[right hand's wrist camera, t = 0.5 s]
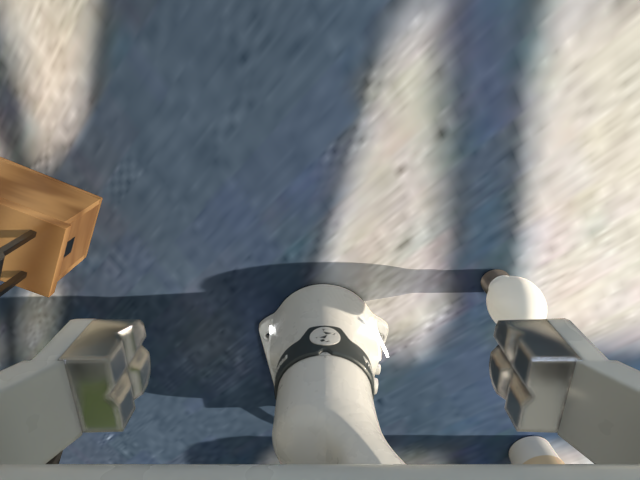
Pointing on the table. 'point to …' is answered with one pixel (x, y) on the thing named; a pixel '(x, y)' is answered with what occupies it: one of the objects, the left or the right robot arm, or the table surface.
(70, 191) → the chest
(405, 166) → the table surface
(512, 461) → the coffee cup
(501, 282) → the light bulb
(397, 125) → the table surface
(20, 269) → the lid
